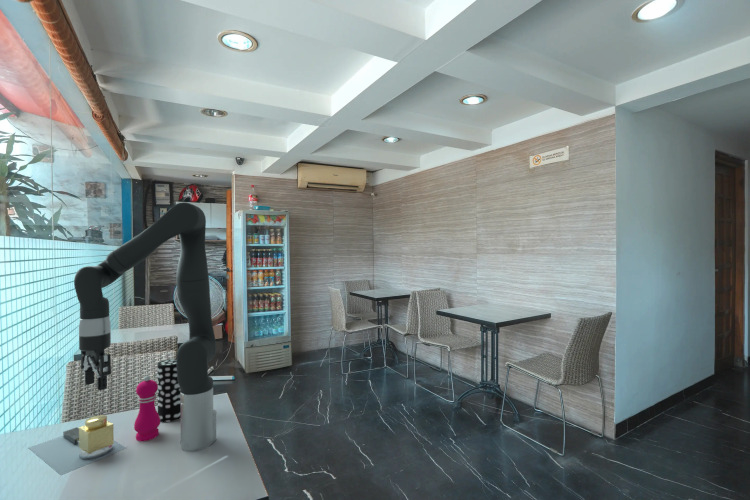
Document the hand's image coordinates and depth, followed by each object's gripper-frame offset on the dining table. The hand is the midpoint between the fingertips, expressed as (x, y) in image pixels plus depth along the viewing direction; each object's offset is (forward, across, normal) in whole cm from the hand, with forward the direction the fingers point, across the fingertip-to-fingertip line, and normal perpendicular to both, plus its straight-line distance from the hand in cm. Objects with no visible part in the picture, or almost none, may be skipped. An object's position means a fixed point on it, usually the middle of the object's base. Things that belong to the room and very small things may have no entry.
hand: (95, 386), depth 110 cm
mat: (+20, +8, +2) cm, 22 cm away
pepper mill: (+20, -3, -13) cm, 24 cm away
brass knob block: (+18, 0, 0) cm, 18 cm away
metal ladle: (+20, +8, 0) cm, 21 cm away
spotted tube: (+20, +5, -25) cm, 33 cm away
